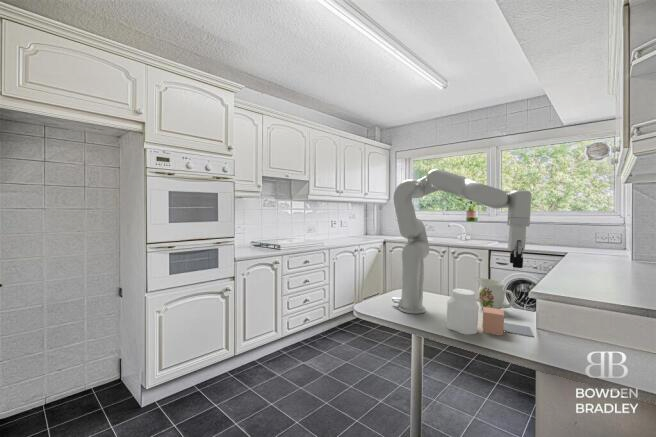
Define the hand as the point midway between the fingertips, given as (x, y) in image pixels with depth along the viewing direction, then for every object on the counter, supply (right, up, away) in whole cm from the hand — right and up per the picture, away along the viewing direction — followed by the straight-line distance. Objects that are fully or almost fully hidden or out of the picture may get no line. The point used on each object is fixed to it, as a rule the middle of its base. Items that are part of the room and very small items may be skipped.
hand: (515, 265), depth 125 cm
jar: (-21, -26, +2) cm, 33 cm away
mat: (+1, -26, +2) cm, 26 cm away
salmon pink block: (-9, -26, 0) cm, 27 cm away
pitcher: (+3, -25, +24) cm, 35 cm away
